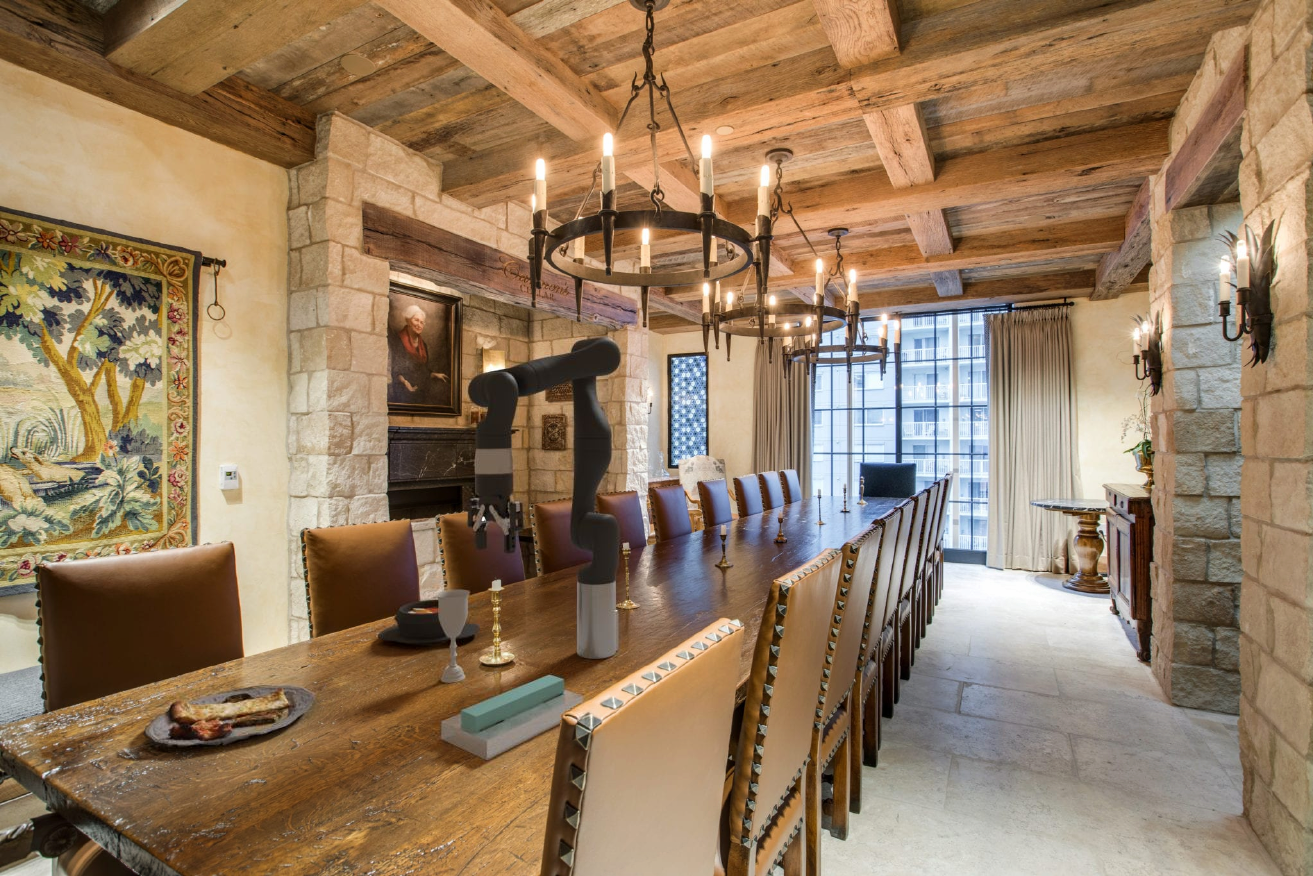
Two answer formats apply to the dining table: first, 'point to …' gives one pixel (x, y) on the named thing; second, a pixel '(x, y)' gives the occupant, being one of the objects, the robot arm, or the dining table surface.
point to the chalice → (453, 626)
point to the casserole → (421, 625)
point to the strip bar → (511, 703)
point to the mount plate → (509, 727)
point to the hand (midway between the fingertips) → (495, 551)
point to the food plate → (228, 715)
